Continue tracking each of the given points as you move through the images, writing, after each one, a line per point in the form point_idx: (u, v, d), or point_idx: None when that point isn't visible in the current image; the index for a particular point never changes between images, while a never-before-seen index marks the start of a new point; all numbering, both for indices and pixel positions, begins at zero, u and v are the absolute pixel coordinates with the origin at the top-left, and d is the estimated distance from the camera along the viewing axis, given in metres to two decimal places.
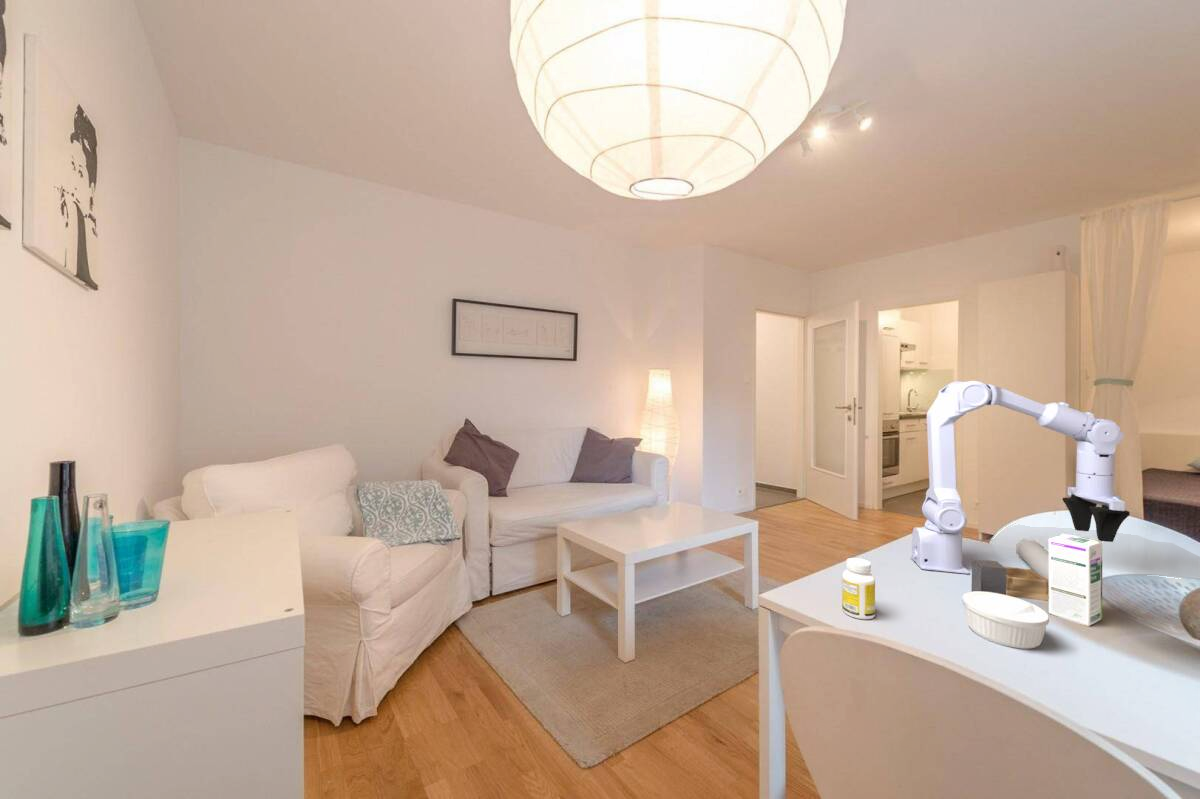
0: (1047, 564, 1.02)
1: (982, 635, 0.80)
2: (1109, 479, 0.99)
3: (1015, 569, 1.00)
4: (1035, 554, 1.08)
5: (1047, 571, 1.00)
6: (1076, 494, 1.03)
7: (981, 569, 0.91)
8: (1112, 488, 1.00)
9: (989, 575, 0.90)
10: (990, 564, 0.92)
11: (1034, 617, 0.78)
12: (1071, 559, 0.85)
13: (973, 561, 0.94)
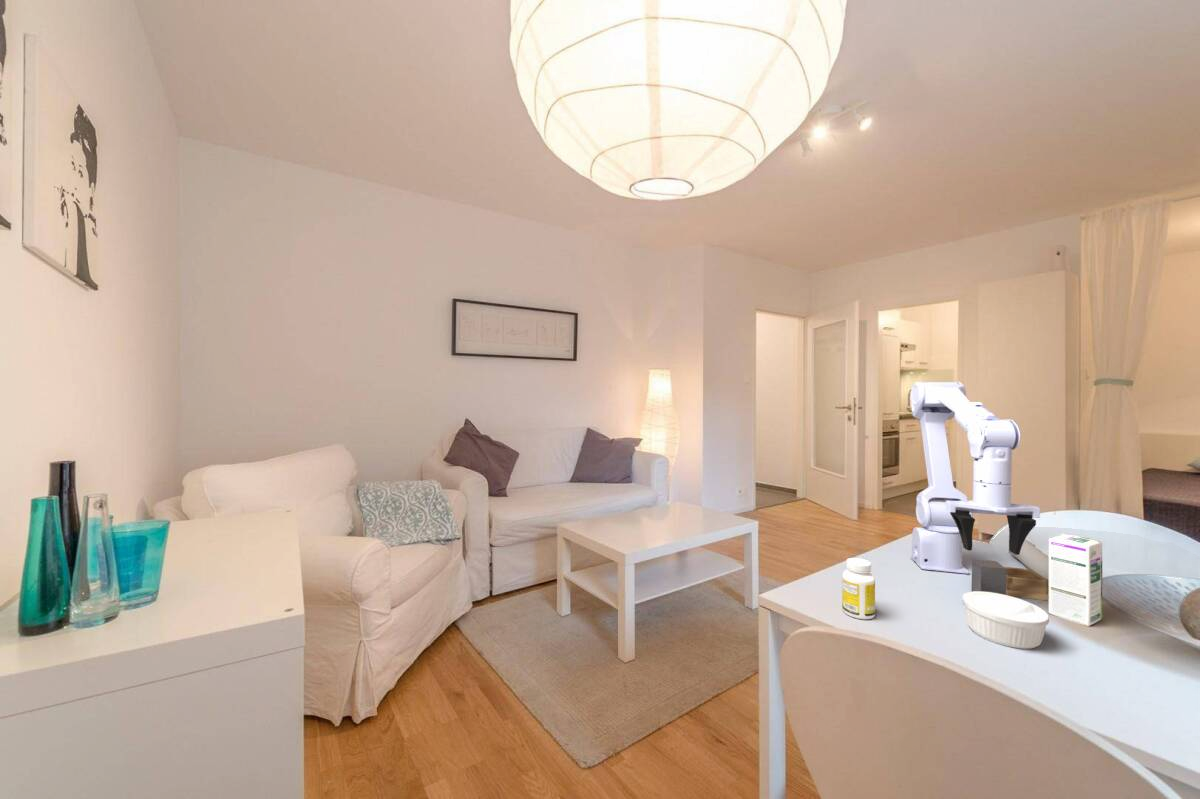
0: (1046, 564, 1.02)
1: (982, 635, 0.80)
2: (978, 485, 0.91)
3: (1015, 569, 1.00)
4: (1031, 554, 1.08)
5: (1048, 571, 1.00)
6: None
7: (981, 569, 0.91)
8: (982, 496, 0.91)
9: (989, 575, 0.90)
10: (990, 564, 0.92)
11: (1034, 617, 0.78)
12: (1071, 559, 0.85)
13: (973, 561, 0.94)
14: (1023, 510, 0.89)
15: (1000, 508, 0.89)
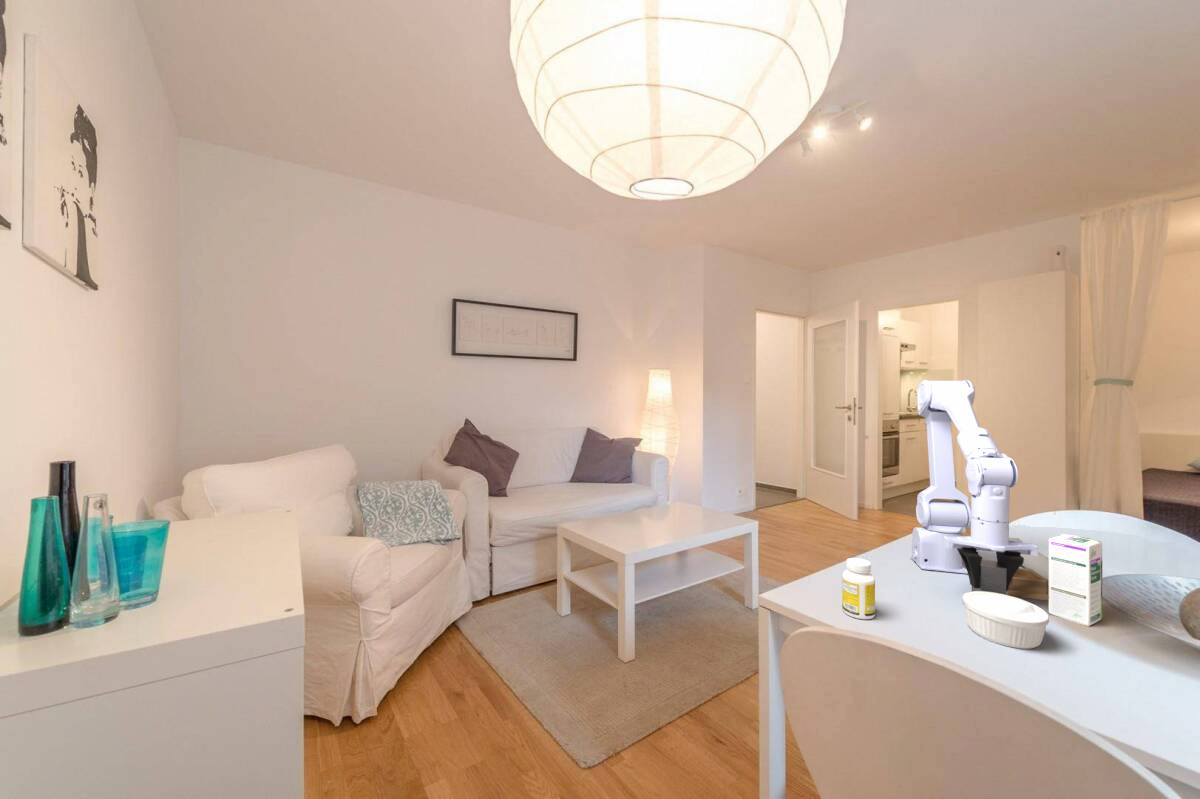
0: (1046, 564, 1.02)
1: (982, 635, 0.80)
2: (975, 522, 0.92)
3: None
4: (1027, 554, 1.09)
5: (1048, 572, 1.00)
6: None
7: (981, 569, 0.91)
8: (980, 534, 0.91)
9: (989, 575, 0.90)
10: (990, 564, 0.92)
11: (1034, 617, 0.78)
12: (1071, 559, 0.85)
13: None
14: (1021, 548, 0.89)
15: (998, 546, 0.89)
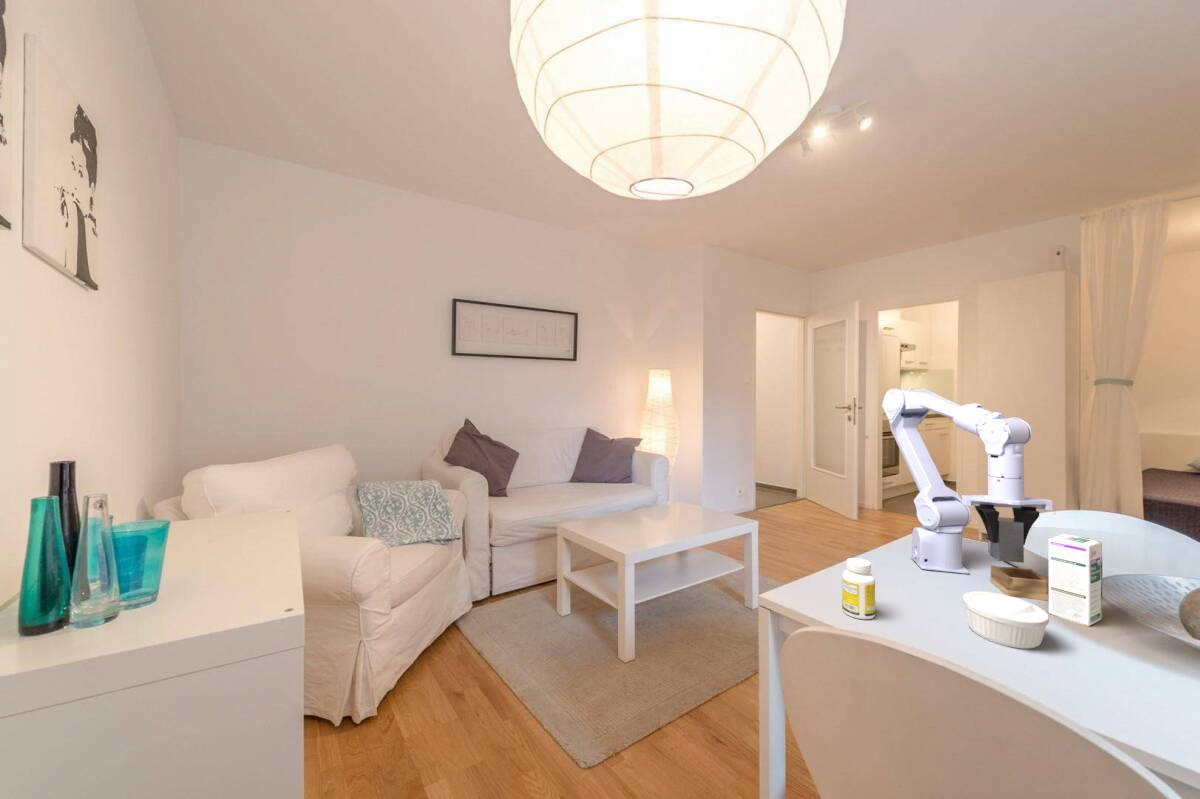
0: (1045, 564, 1.02)
1: (982, 635, 0.80)
2: (992, 480, 0.97)
3: (1015, 569, 1.00)
4: None
5: None
6: None
7: (999, 524, 0.96)
8: (997, 490, 0.96)
9: (1006, 529, 0.95)
10: (1008, 520, 0.97)
11: (1034, 617, 0.78)
12: (1071, 559, 0.85)
13: None
14: (1036, 503, 0.94)
15: (1014, 501, 0.94)
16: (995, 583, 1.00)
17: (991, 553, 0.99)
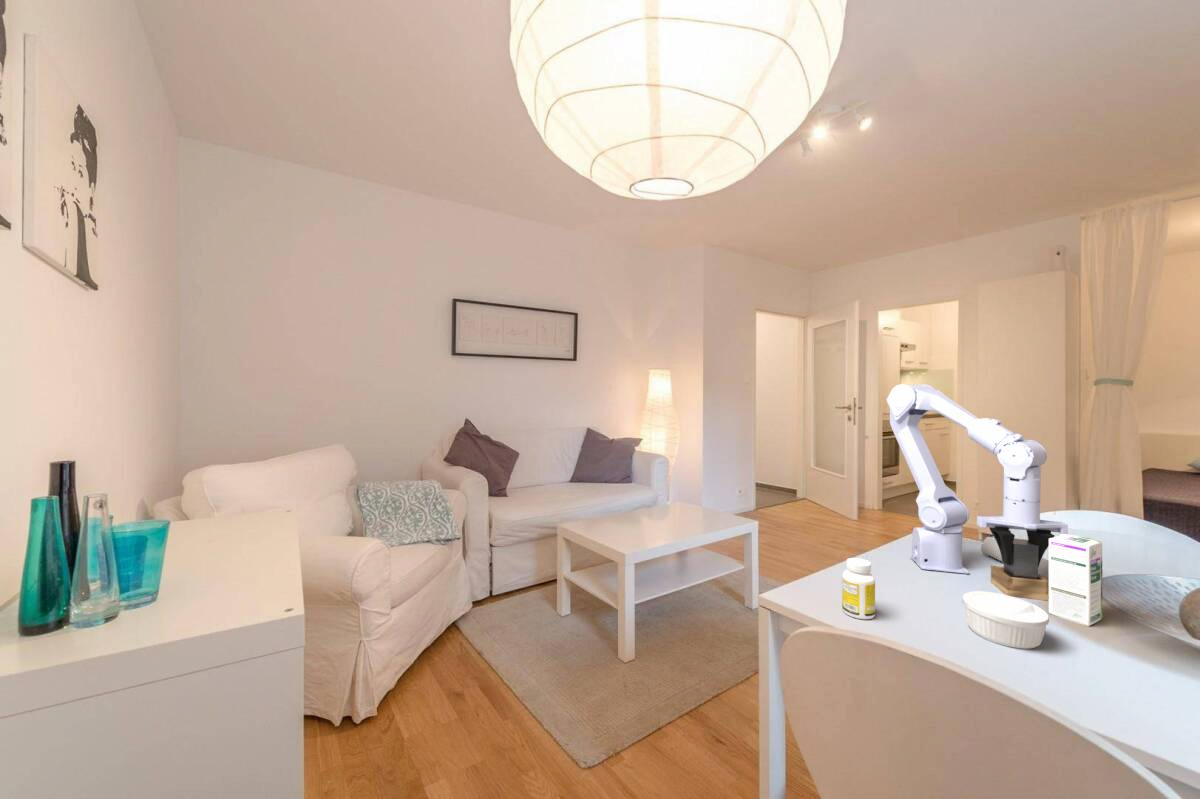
0: (1045, 564, 1.02)
1: (982, 635, 0.80)
2: (1008, 502, 0.97)
3: None
4: None
5: None
6: None
7: (1014, 547, 0.96)
8: (1013, 513, 0.97)
9: (1021, 552, 0.96)
10: (1022, 542, 0.97)
11: (1034, 617, 0.78)
12: (1071, 559, 0.85)
13: None
14: (1052, 526, 0.95)
15: (1030, 524, 0.94)
16: (995, 583, 1.00)
17: None
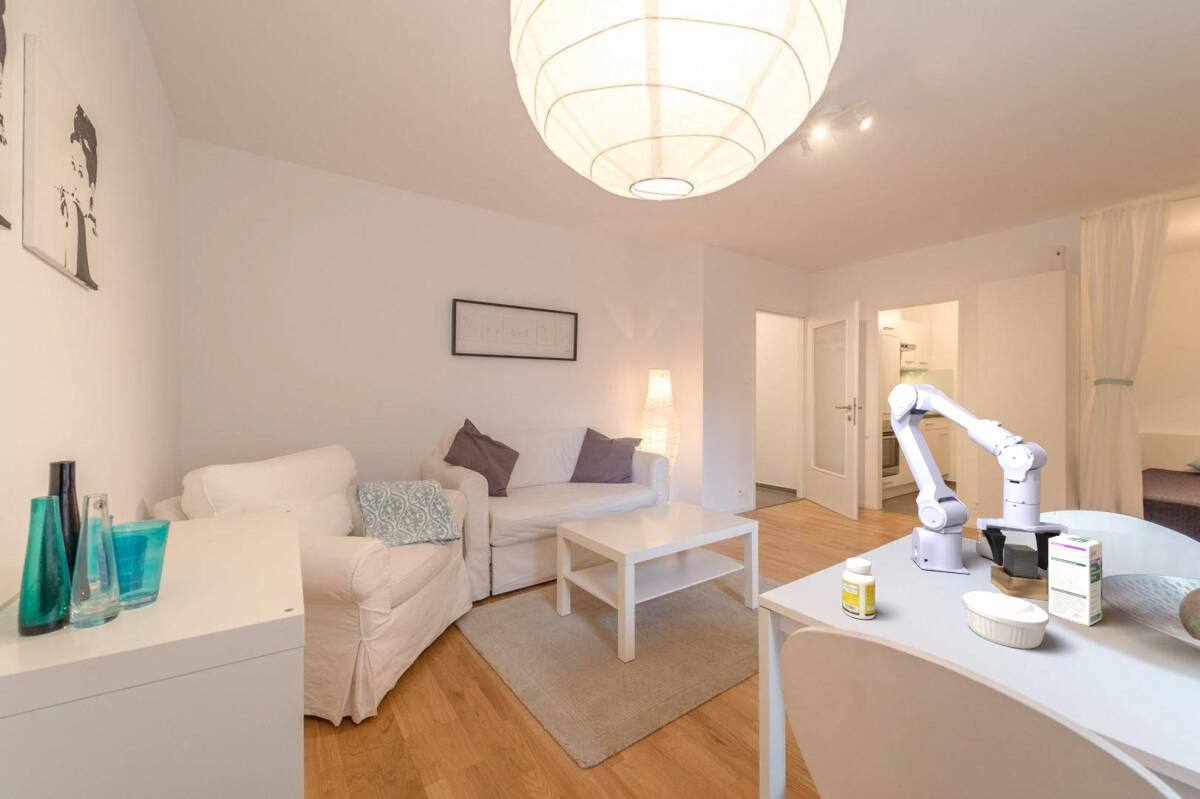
0: None
1: (982, 635, 0.80)
2: (1008, 505, 0.97)
3: None
4: None
5: None
6: None
7: (1013, 552, 0.96)
8: (1012, 515, 0.97)
9: (1021, 558, 0.96)
10: (1022, 548, 0.97)
11: (1034, 617, 0.78)
12: (1071, 559, 0.85)
13: (1005, 546, 0.99)
14: (1051, 528, 0.95)
15: (1030, 527, 0.94)
16: (995, 583, 1.00)
17: None
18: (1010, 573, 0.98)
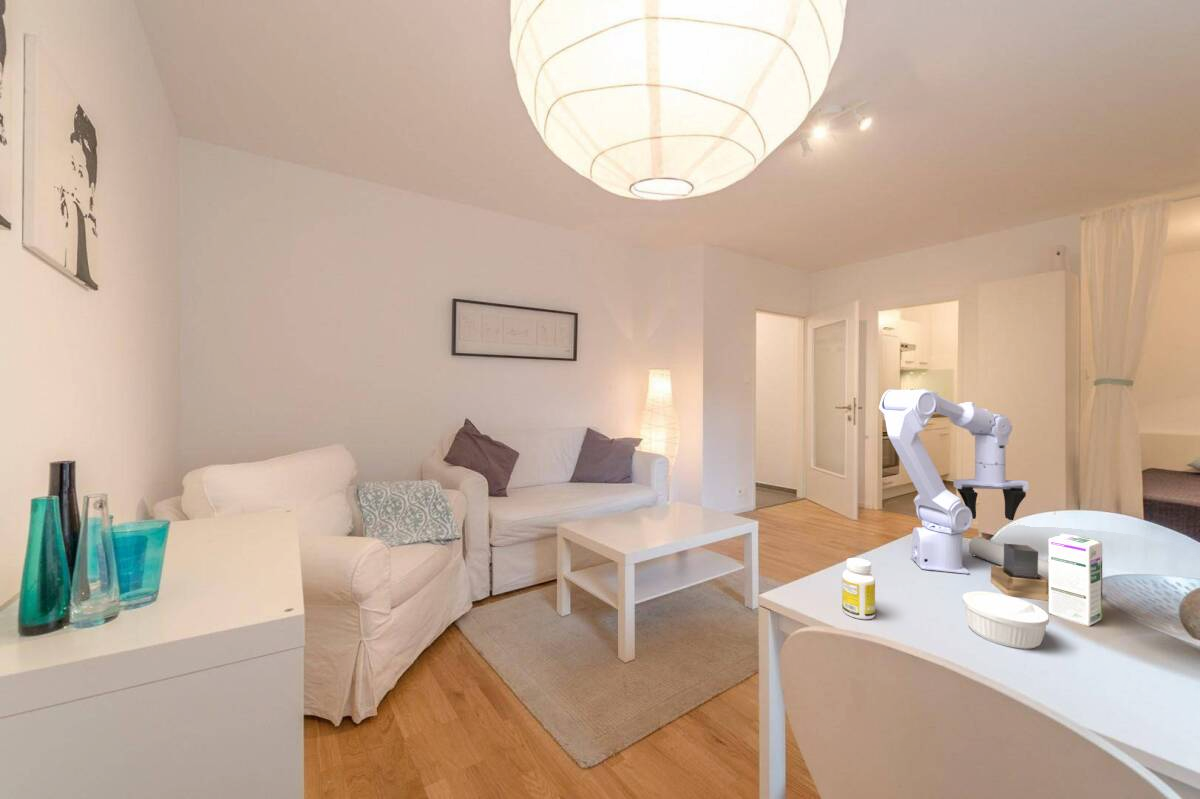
0: (1044, 565, 1.02)
1: (982, 635, 0.80)
2: (979, 466, 1.14)
3: None
4: None
5: None
6: None
7: (1013, 552, 0.96)
8: (983, 475, 1.13)
9: (1021, 558, 0.96)
10: (1022, 548, 0.97)
11: (1034, 617, 0.78)
12: (1071, 559, 0.85)
13: (1005, 546, 0.99)
14: (1015, 484, 1.12)
15: (997, 483, 1.11)
16: (995, 583, 1.00)
17: None
18: (1010, 573, 0.98)
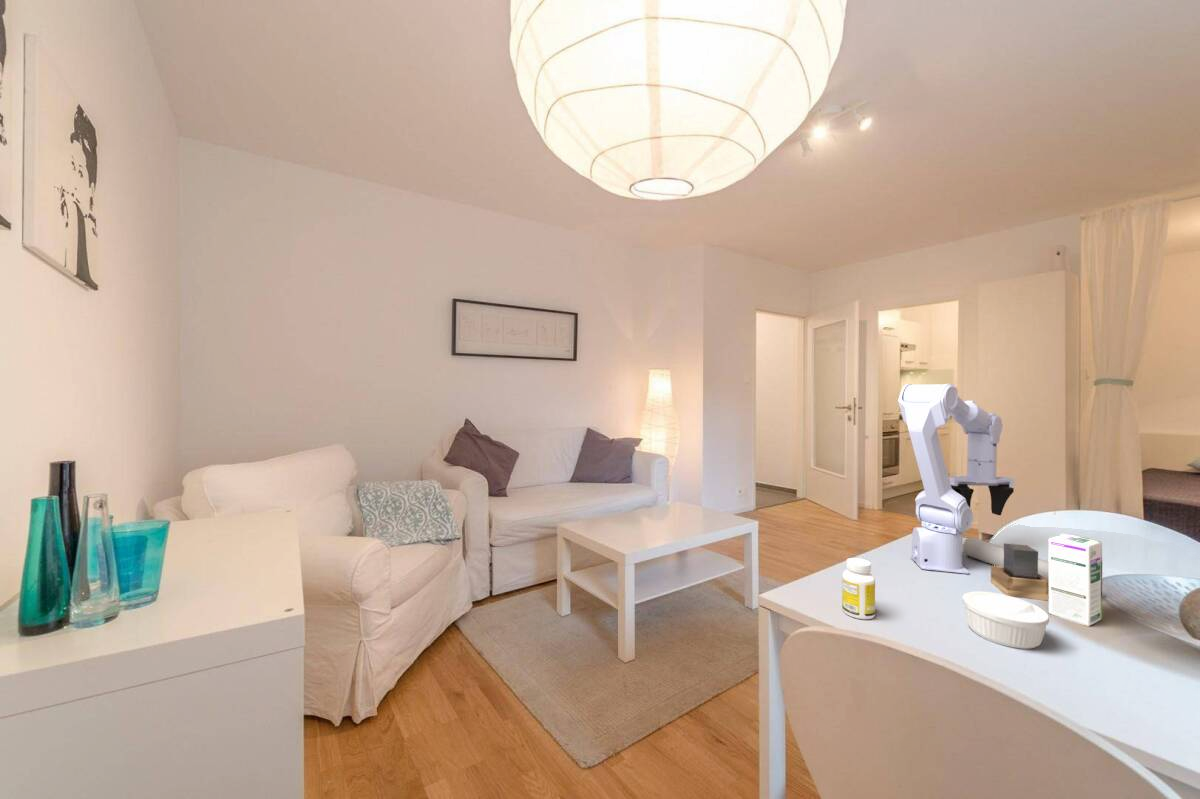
0: (1044, 565, 1.01)
1: (982, 635, 0.80)
2: (973, 464, 1.18)
3: None
4: None
5: None
6: None
7: (1013, 552, 0.96)
8: (978, 472, 1.17)
9: (1021, 558, 0.96)
10: (1022, 548, 0.97)
11: (1034, 617, 0.78)
12: (1071, 559, 0.85)
13: (1005, 546, 0.99)
14: (1004, 481, 1.17)
15: (991, 480, 1.15)
16: (995, 583, 1.00)
17: None
18: (1010, 573, 0.98)
